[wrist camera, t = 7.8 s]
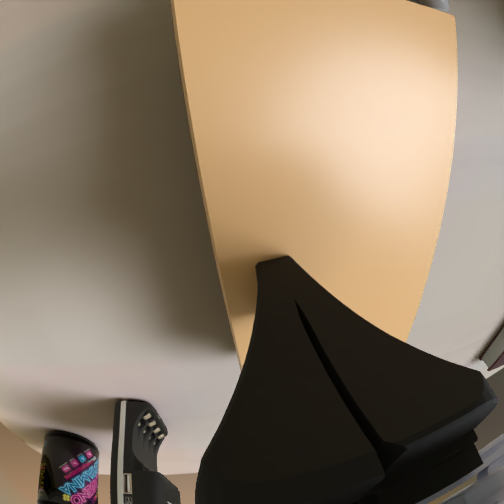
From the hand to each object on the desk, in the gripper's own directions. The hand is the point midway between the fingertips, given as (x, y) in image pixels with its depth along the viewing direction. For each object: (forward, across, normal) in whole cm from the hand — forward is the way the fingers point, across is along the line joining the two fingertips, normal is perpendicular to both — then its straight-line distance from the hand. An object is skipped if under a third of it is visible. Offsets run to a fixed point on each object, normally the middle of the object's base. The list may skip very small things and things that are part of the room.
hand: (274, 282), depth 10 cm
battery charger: (+5, +11, +17) cm, 21 cm away
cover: (+1, -3, 0) cm, 3 cm away
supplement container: (+5, +23, +23) cm, 33 cm away
